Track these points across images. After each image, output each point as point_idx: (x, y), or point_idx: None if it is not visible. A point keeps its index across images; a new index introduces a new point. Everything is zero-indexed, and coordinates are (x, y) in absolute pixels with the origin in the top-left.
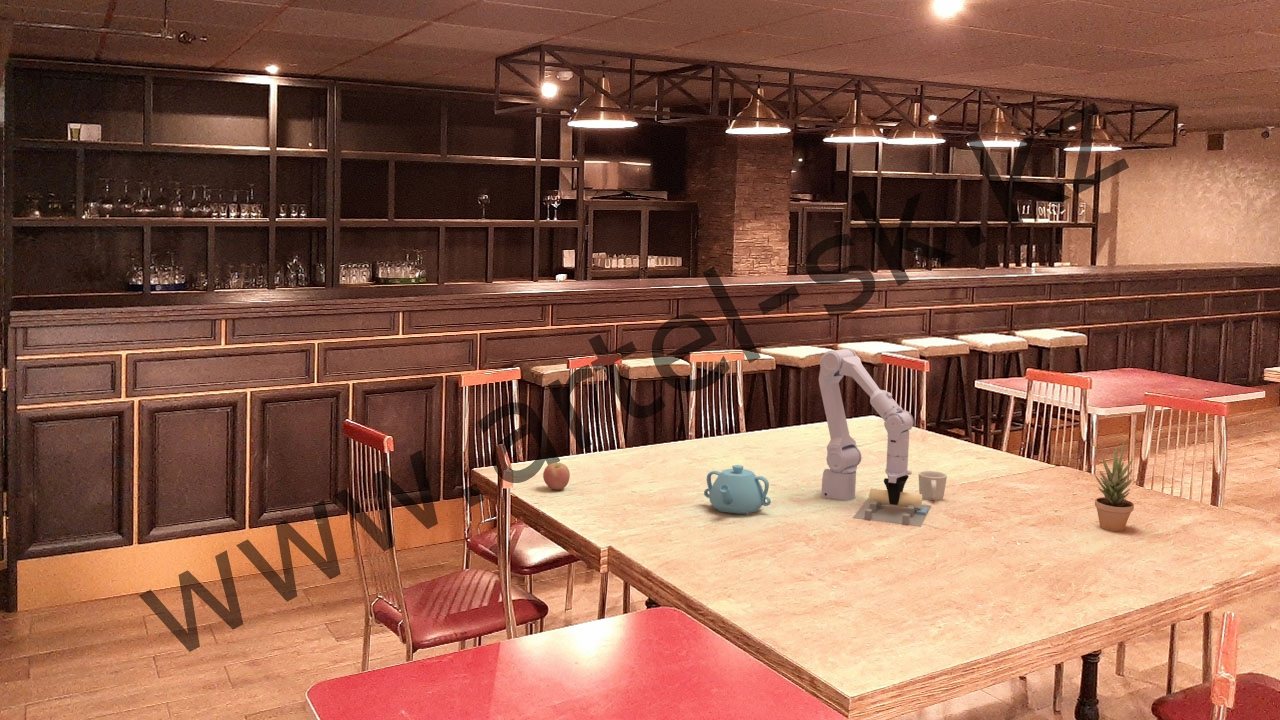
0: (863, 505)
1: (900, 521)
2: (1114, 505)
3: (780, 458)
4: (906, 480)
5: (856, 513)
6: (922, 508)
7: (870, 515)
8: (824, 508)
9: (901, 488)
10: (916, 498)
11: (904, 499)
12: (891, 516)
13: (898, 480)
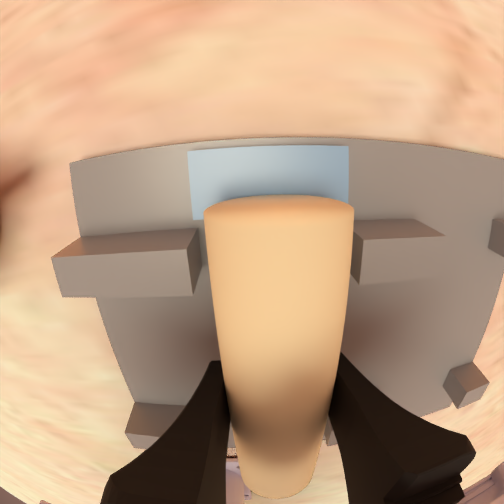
0: None
1: (483, 262)
2: None
3: (31, 490)
4: (147, 468)
5: None
6: (240, 186)
7: (481, 372)
8: (320, 479)
9: (423, 424)
10: (347, 257)
11: (341, 342)
12: (423, 320)
13: (413, 501)
